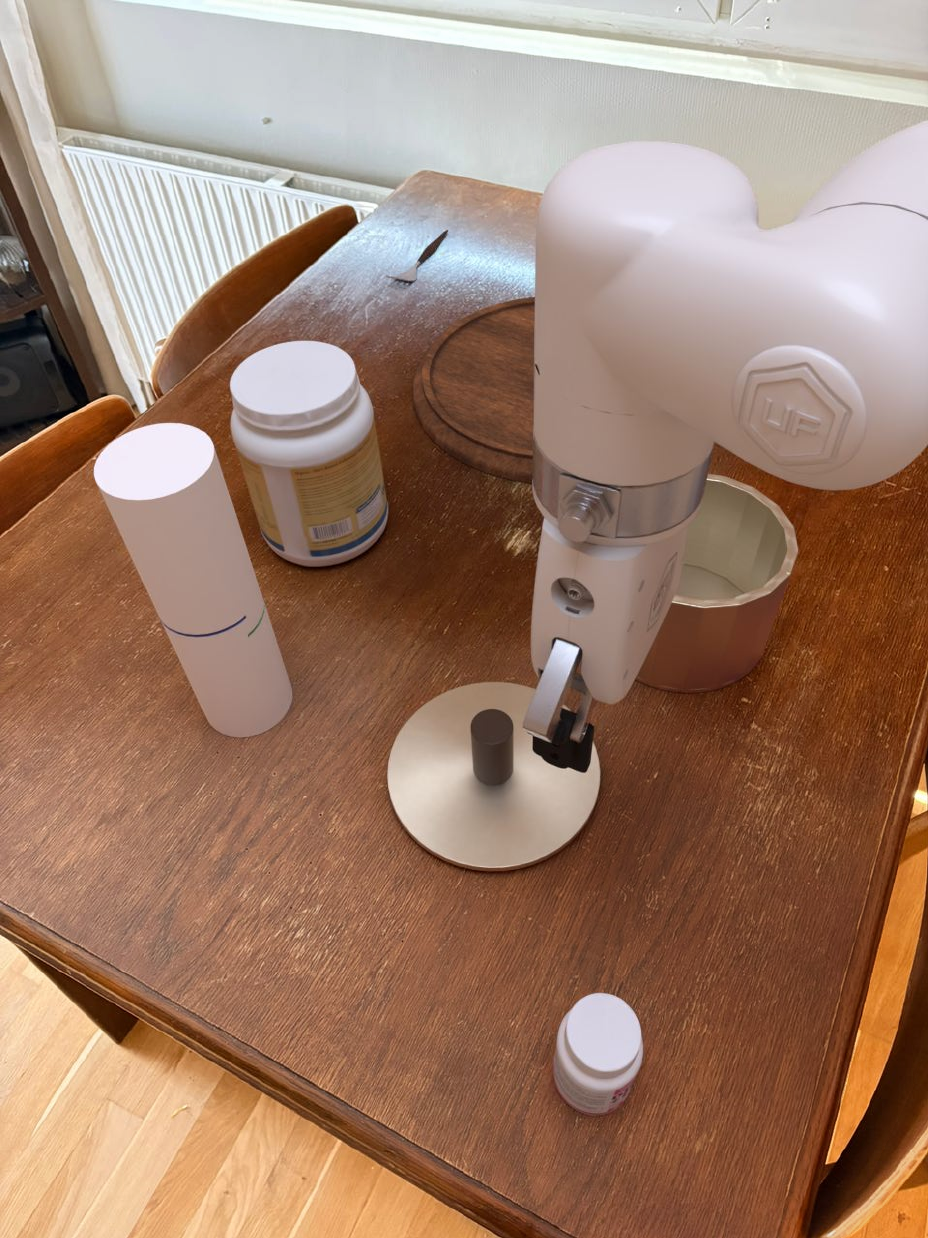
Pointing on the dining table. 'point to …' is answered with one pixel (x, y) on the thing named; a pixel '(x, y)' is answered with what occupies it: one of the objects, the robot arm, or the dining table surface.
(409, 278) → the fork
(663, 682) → the pot
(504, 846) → the lid
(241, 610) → the cylindrical container
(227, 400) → the dining table surface
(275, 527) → the supplement tub
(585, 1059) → the pill bottle
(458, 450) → the cutting board
